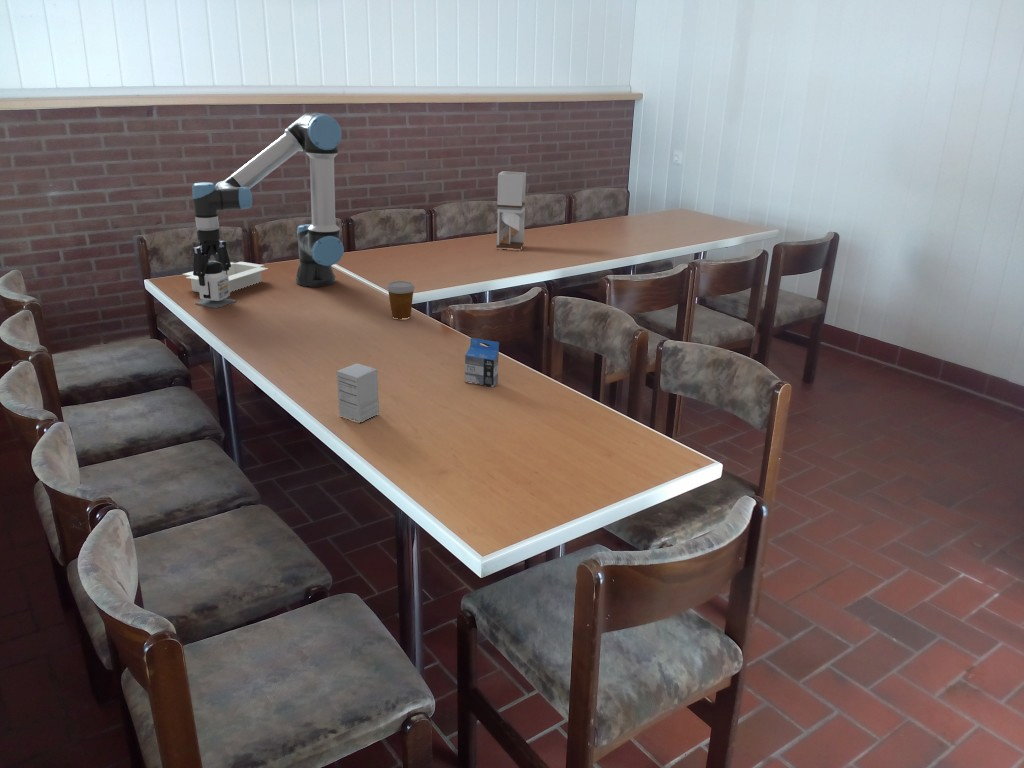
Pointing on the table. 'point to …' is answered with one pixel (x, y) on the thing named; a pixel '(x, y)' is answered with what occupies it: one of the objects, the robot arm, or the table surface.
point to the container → (215, 282)
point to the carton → (236, 276)
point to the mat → (215, 302)
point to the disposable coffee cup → (401, 298)
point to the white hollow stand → (511, 209)
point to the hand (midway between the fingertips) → (214, 291)
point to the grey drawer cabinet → (358, 392)
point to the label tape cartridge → (482, 362)
